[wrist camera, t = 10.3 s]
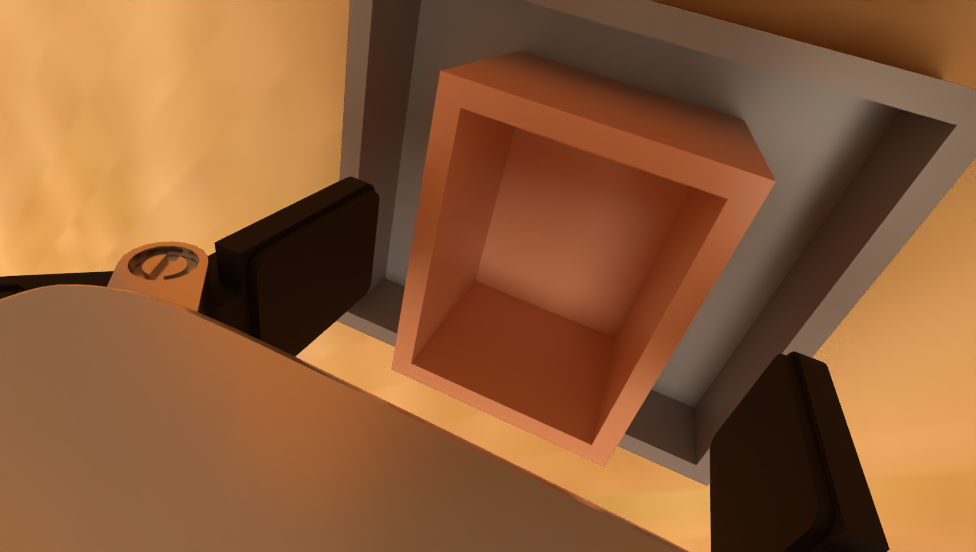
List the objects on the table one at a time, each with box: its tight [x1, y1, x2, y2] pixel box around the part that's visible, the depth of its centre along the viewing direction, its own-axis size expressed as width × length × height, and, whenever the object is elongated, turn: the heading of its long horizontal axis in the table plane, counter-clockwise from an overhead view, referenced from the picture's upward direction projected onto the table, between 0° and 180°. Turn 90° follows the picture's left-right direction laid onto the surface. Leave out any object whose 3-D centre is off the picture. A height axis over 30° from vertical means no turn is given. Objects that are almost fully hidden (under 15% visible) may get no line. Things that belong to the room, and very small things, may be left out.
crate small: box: [392, 51, 776, 467], centre depth 14 cm, size 9×7×6 cm
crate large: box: [337, 0, 976, 486], centre depth 16 cm, size 13×15×4 cm
